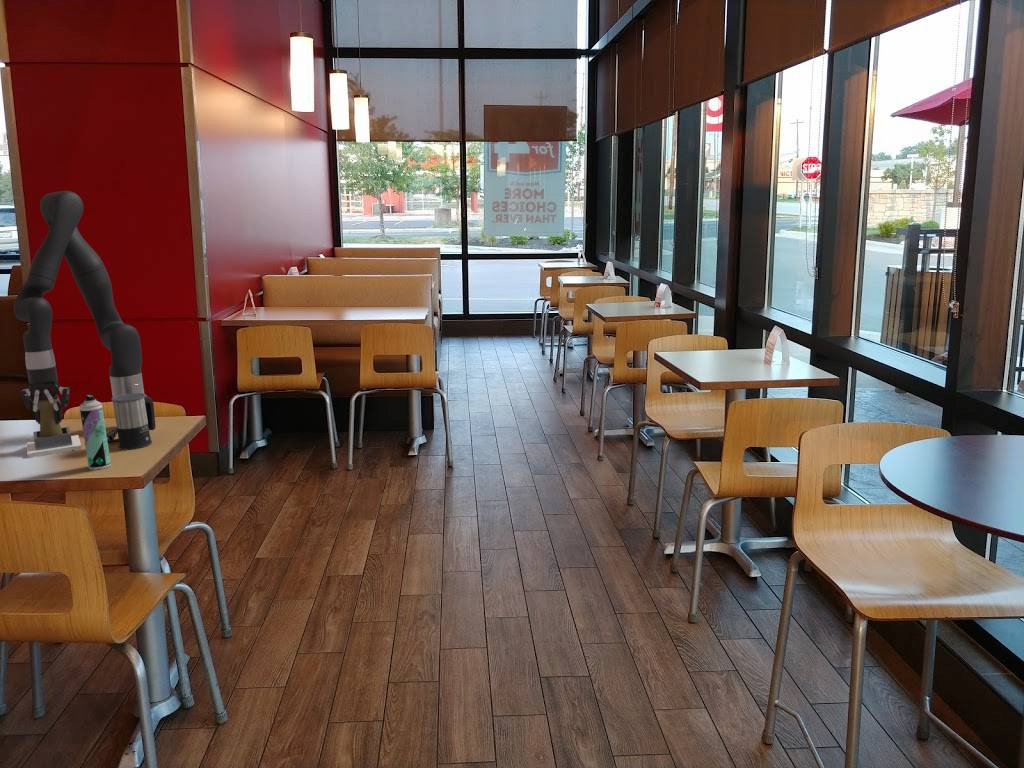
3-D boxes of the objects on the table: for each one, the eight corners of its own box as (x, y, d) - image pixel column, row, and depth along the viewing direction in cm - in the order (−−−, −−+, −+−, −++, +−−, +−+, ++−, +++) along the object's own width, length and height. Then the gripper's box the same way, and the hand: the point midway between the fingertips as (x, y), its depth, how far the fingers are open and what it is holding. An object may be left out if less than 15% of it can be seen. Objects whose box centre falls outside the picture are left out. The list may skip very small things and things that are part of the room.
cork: (53, 438, 264) (48, 401, 261) (35, 437, 265) (29, 401, 262) (67, 432, 269) (62, 396, 267) (49, 432, 271) (44, 396, 268)
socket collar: (70, 437, 274) (68, 426, 273) (72, 444, 266) (70, 433, 265) (35, 443, 270) (33, 431, 269) (35, 450, 261) (33, 439, 261)
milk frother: (145, 449, 262) (138, 399, 259) (90, 452, 262) (82, 402, 259) (161, 435, 276) (155, 388, 273) (109, 438, 276) (102, 391, 273)
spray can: (93, 464, 249) (82, 393, 245) (113, 463, 249) (103, 392, 245) (85, 470, 244) (74, 398, 239) (106, 469, 244) (96, 397, 240)
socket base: (78, 438, 277) (78, 435, 277) (81, 449, 265) (81, 445, 265) (27, 446, 271) (26, 442, 271) (27, 457, 259) (27, 453, 258)
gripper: (71, 362, 267) (79, 418, 270) (22, 364, 266) (30, 421, 270) (60, 367, 259) (69, 424, 263) (9, 369, 259) (18, 427, 262)
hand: (49, 422), depth 266 cm, fingers closed on cork, 4 cm apart
